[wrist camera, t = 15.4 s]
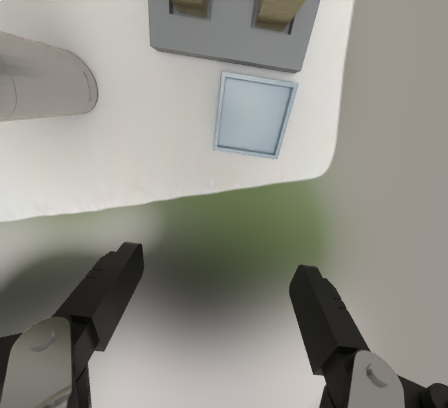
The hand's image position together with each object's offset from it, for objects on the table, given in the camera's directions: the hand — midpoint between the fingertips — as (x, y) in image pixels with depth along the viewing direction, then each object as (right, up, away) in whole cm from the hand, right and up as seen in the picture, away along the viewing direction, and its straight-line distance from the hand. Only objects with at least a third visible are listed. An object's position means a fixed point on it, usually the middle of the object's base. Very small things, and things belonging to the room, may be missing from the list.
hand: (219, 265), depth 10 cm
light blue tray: (+5, +18, +24) cm, 31 cm away
